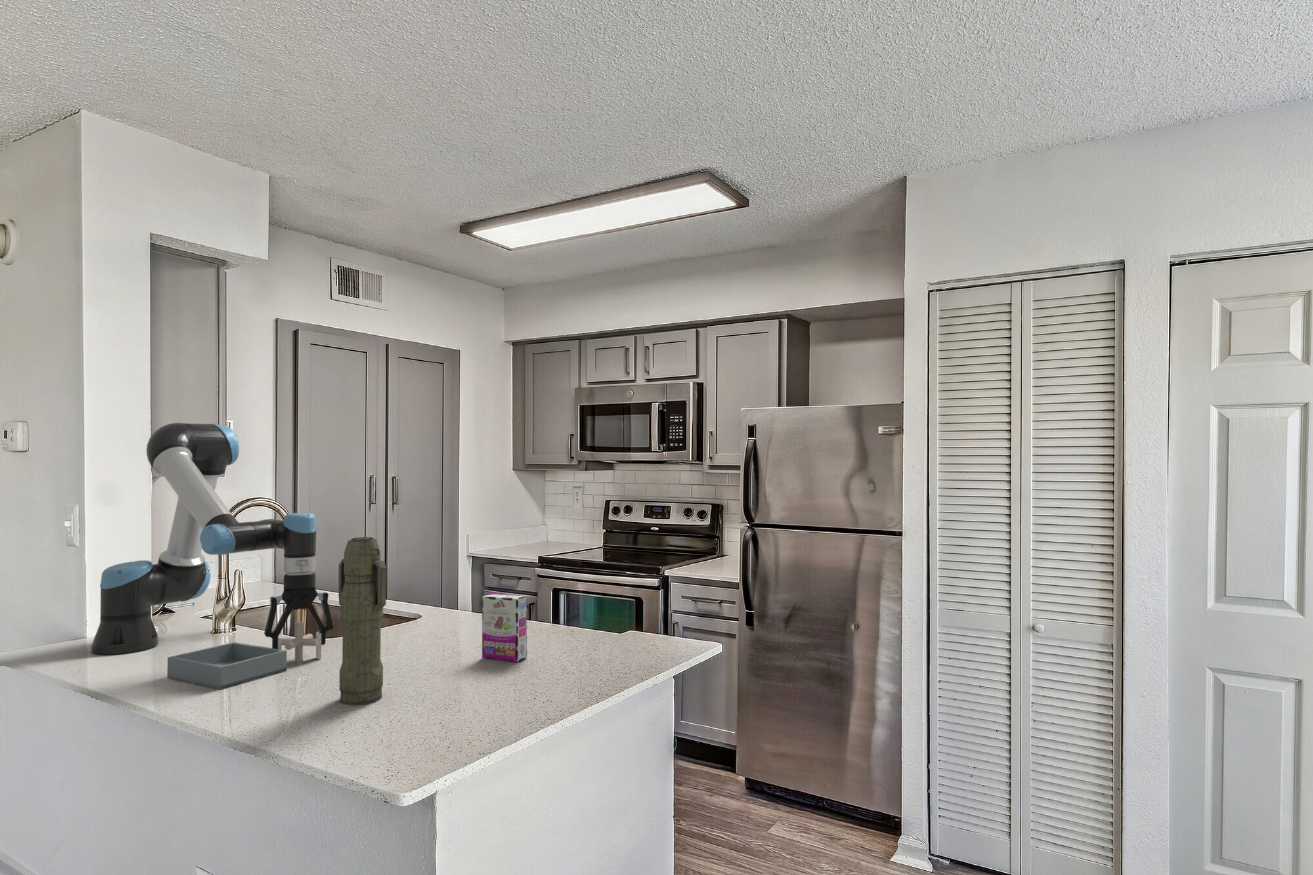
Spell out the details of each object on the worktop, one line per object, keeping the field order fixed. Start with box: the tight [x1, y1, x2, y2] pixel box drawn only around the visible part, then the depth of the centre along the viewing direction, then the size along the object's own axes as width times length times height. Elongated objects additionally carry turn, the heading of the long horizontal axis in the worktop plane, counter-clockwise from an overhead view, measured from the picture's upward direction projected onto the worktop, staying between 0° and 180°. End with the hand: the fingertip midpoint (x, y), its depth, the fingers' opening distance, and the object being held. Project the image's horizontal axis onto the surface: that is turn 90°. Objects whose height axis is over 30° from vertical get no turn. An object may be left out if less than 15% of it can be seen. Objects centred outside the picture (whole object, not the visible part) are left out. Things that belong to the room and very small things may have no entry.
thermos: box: [338, 536, 388, 706], centre depth 168 cm, size 9×12×35 cm
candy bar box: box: [481, 593, 528, 663], centre depth 201 cm, size 11×5×16 cm, turn 68°
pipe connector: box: [281, 621, 319, 663], centre depth 198 cm, size 10×10×10 cm
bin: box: [166, 641, 288, 690], centre depth 186 cm, size 20×17×5 cm
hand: (299, 660), depth 198 cm, fingers closed on pipe connector, 9 cm apart
